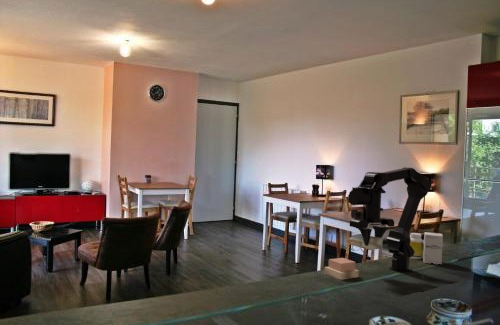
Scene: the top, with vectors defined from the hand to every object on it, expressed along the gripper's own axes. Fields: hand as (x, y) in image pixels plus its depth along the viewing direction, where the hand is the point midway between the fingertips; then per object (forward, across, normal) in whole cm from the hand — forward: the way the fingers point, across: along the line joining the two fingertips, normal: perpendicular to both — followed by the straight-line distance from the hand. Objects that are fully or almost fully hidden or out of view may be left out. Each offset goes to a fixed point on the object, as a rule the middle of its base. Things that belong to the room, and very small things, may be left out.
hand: (371, 245), depth 161 cm
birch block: (+12, +12, -3) cm, 17 cm away
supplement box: (+11, -40, -2) cm, 42 cm away
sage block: (+1, 0, 0) cm, 1 cm away
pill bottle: (+11, -40, -11) cm, 43 cm away
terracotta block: (+9, +11, -4) cm, 15 cm away
